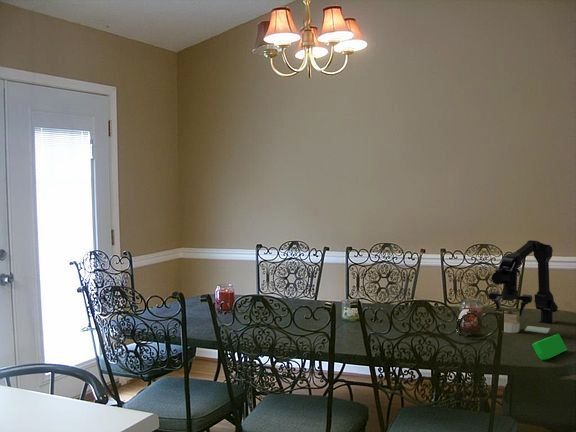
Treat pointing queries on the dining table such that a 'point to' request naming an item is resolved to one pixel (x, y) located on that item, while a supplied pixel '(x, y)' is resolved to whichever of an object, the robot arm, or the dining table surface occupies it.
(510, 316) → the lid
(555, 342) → the green rectangular block
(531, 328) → the mat
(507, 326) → the bowl
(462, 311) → the figurine
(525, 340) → the dining table surface
